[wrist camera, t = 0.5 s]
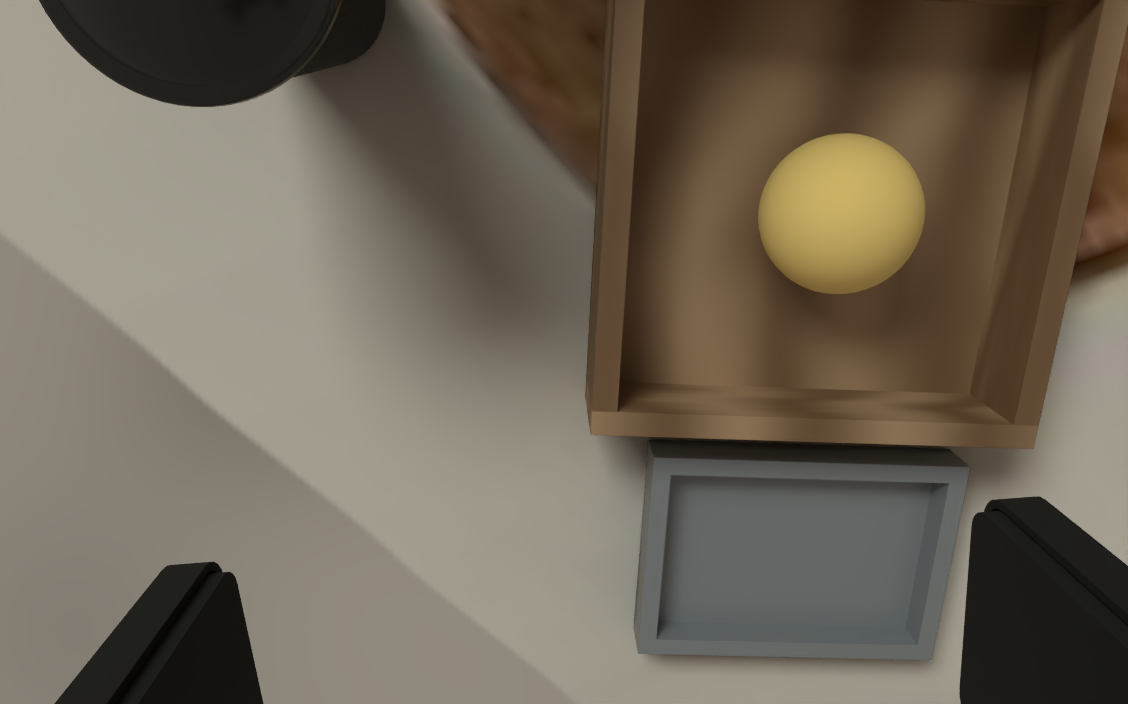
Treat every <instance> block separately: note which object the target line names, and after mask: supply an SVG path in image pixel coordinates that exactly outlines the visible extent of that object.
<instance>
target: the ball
mask: <svg viewBox="0 0 1128 704" xmlns="http://www.w3.org/2000/svg"><path fill="white" fill-rule="evenodd" d="M924 220H925V199H924V193H923V190H922V186H921V183H920V181H919V179H918V177H917V175H916V172H915V171H914V169H913V168H912V166H911V165H910V163H909V162H908V161H907V160H906V159H905V158H904V157H903V156H902V155H901V154H900V153H899V152H897V151H896V150H895V149H894V148H893V147H891V146H889V145H888V144H886V143H884V142H882V141H880V140H878V139H875V138H872V137H869V136H865V135H861V134H852V133H841V134H832V135H826V136H822V137H819V138H816V139H813V140H811V141H809V142H807V143H805V144H803V145H801V146H800V147H798V148H796V149H795V150H793V151H792V152H791V153H790V154H788V155H787V156H786V157H785V158H784V159H783V160H782V161H781V162H780V163H779V164H778V165H777V167H776V168H775V169H774V170H773V172H772V173H771V175H770V177H769V178H768V180H767V182H766V184H765V187H764V189H763V192H762V195H761V198H760V203H759V209H758V225H759V232H760V236H761V240H762V243H763V246H764V248H765V251H766V252H767V254H768V256H769V258H770V259H771V261H772V262H773V263H774V265H775V266H776V267H777V268H778V269H779V270H780V271H781V272H782V273H783V274H784V275H785V276H786V277H788V278H789V279H790V280H791V281H793V282H795V283H797V284H799V285H800V286H802V287H805V288H807V289H810V290H812V291H816V292H821V293H828V294H848V293H855V292H859V291H862V290H866V289H868V288H871V287H873V286H876V285H878V284H880V283H881V282H883V281H885V280H886V279H888V278H889V277H891V276H892V275H893V274H895V273H896V272H897V271H898V270H899V269H900V268H901V267H902V266H903V265H904V263H905V262H906V261H907V260H908V259H909V257H910V256H911V254H912V253H913V251H914V249H915V247H916V246H917V244H918V242H919V239H920V236H921V233H922V230H923V226H924Z"/></svg>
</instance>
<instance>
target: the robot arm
mask: <svg viewBox="0 0 1128 704" xmlns="http://www.w3.org/2000/svg"><path fill="white" fill-rule="evenodd" d="M960 700H961V704H1128V566H1127V565H1126V564H1125V563H1124V562H1122V561H1121V560H1120V559H1119V558H1117V557H1116V556H1115V555H1114V554H1112V553H1111V552H1110V551H1109V550H1107V549H1106V548H1105V547H1104V546H1102V545H1101V544H1100V543H1099V542H1097V541H1096V540H1095V539H1094V538H1092V537H1091V536H1090V535H1089V534H1087V533H1086V532H1085V531H1084V530H1082V529H1081V528H1080V527H1079V526H1077V525H1076V524H1075V523H1074V522H1072V521H1071V520H1070V519H1069V518H1068V517H1066V516H1065V515H1064V514H1063V513H1061V512H1060V511H1059V510H1058V509H1056V508H1055V507H1054V506H1053V505H1051V504H1050V503H1049V502H1048V501H1046V500H1045V499H1043V498H1041V497H1024V498H1011V499H998V500H991V501H990V502H989V503H988V504H987V506H986V508H985V510H984V512H980V513H977V514H976V515H975V516H974V518H973V521H972V528H971V542H970V555H969V569H968V582H967V596H966V609H965V623H964V636H963V650H962V664H961V677H960ZM55 704H263V700H262V695H261V691H260V686H259V682H258V677H257V672H256V668H255V664H254V658H253V654H252V650H251V645H250V640H249V636H248V631H247V626H246V621H245V617H244V612H243V608H242V604H241V598H240V594H239V589H238V584H237V581H236V578H235V576H234V575H233V574H232V573H231V572H222V570H221V568H220V566H219V565H218V564H217V563H215V562H205V563H191V564H179V565H169V566H166V567H165V568H164V569H163V570H162V571H161V572H160V573H159V575H158V576H157V577H156V578H155V580H154V581H153V582H152V583H151V585H150V586H149V587H148V588H147V590H146V591H145V592H144V593H143V594H142V596H141V597H140V598H139V600H138V601H137V602H136V603H135V604H134V606H133V607H132V608H131V609H130V611H129V612H128V613H127V614H126V616H125V617H124V618H123V619H122V621H121V622H120V623H119V624H118V626H117V627H116V628H115V629H114V630H113V632H112V633H111V634H110V636H109V637H108V638H107V639H106V640H105V642H104V643H103V644H102V645H101V647H100V648H99V649H98V651H97V652H96V653H95V654H94V655H93V657H92V658H91V659H90V661H89V662H88V663H87V664H86V665H85V667H84V668H83V669H82V670H81V672H80V673H79V674H78V675H77V676H76V678H75V679H74V680H73V681H72V683H71V684H70V685H69V687H68V688H67V689H66V690H65V691H64V693H63V694H62V695H61V696H60V698H59V699H58V700H57V701H56V703H55Z"/></svg>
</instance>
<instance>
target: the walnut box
mask: <svg viewBox="0 0 1128 704" xmlns="http://www.w3.org/2000/svg"><path fill="white" fill-rule="evenodd" d="M1127 25H1128V0H607V6H606V24H605V42H604V61H603V79H602V98H601V116H600V135H599V153H598V171H597V190H596V208H595V227H594V245H593V264H592V282H591V300H590V319H589V337H588V356H587V374H586V393H585V398H586V405H587V412H588V419H589V426H590V433H591V435H609V436H641V437H673V438H704V439H736V440H768V441H799V442H831V443H863V444H895V445H926V446H958V447H990V448H1021V449H1033V448H1034V444H1035V439H1036V435H1037V430H1038V426H1039V421H1040V417H1041V412H1042V408H1043V403H1044V399H1045V394H1046V390H1047V385H1048V381H1049V376H1050V372H1051V367H1052V363H1053V358H1054V354H1055V349H1056V345H1057V340H1058V336H1059V331H1060V327H1061V322H1062V318H1063V313H1064V309H1065V304H1066V300H1067V295H1068V291H1069V286H1070V282H1071V277H1072V273H1073V268H1074V264H1075V259H1076V255H1077V250H1078V246H1079V241H1080V237H1081V232H1082V228H1083V223H1084V219H1085V214H1086V210H1087V205H1088V201H1089V196H1090V192H1091V187H1092V183H1093V178H1094V174H1095V169H1096V165H1097V160H1098V156H1099V151H1100V147H1101V142H1102V138H1103V133H1104V129H1105V124H1106V120H1107V115H1108V111H1109V106H1110V102H1111V97H1112V93H1113V88H1114V84H1115V79H1116V75H1117V70H1118V66H1119V61H1120V57H1121V52H1122V48H1123V43H1124V39H1125V34H1126V30H1127ZM841 133H852V134H861V135H865V136H869V137H872V138H875V139H878V140H880V141H882V142H884V143H886V144H888V145H889V146H891V147H893V148H894V149H895V150H896V151H897V152H899V153H900V154H901V155H902V156H903V157H904V158H905V159H906V160H907V161H908V162H909V163H910V165H911V166H912V168H913V169H914V171H915V172H916V175H917V177H918V179H919V181H920V183H921V186H922V190H923V193H924V199H925V220H924V226H923V230H922V233H921V236H920V239H919V242H918V244H917V246H916V247H915V249H914V251H913V253H912V254H911V256H910V257H909V259H908V260H907V261H906V262H905V263H904V265H903V266H902V267H901V268H900V269H899V270H898V271H897V272H896V273H895V274H893V275H892V276H891V277H889V278H888V279H886V280H885V281H883V282H881V283H880V284H878V285H876V286H873V287H871V288H868V289H866V290H862V291H859V292H855V293H848V294H828V293H821V292H816V291H812V290H810V289H807V288H805V287H802V286H800V285H799V284H797V283H795V282H793V281H791V280H790V279H789V278H788V277H786V276H785V275H784V274H783V273H782V272H781V271H780V270H779V269H778V268H777V267H776V266H775V265H774V263H773V262H772V261H771V259H770V258H769V256H768V254H767V252H766V251H765V248H764V246H763V243H762V240H761V236H760V232H759V225H758V209H759V203H760V198H761V195H762V192H763V189H764V187H765V184H766V182H767V180H768V178H769V177H770V175H771V173H772V172H773V170H774V169H775V168H776V167H777V165H778V164H779V163H780V162H781V161H782V160H783V159H784V158H785V157H786V156H787V155H788V154H790V153H791V152H792V151H793V150H795V149H796V148H798V147H800V146H801V145H803V144H805V143H807V142H809V141H811V140H813V139H816V138H819V137H822V136H826V135H832V134H841Z"/></svg>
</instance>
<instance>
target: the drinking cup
mask: <svg viewBox="0 0 1128 704" xmlns="http://www.w3.org/2000/svg"><path fill="white" fill-rule="evenodd" d="M39 1H40V3H41V5H42V7H43V8H44V10H45V12H46V13H47V15H48V16H49V18H50V19H51V21H52V22H53V24H54V25H55V27H56V28H57V29H58V31H59V32H60V33H61V34H62V36H63V37H64V38H65V39H66V40H67V42H68V43H69V44H70V45H71V46H72V47H73V48H74V49H75V50H76V51H77V52H78V53H79V54H80V55H81V56H82V57H83V58H84V59H85V60H86V61H88V62H89V63H90V64H91V65H92V66H93V67H95V68H96V69H97V70H99V71H100V72H101V73H103V74H104V75H106V76H107V77H109V78H110V79H112V80H113V81H115V82H117V83H118V84H120V85H122V86H124V87H126V88H128V89H130V90H132V91H134V92H136V93H138V94H141V95H143V96H146V97H149V98H152V99H155V100H158V101H161V102H165V103H171V104H175V105H181V106H191V107H216V106H226V105H232V104H236V103H241V102H245V101H248V100H251V99H254V98H257V97H260V96H262V95H264V94H266V93H269V92H270V91H272V90H274V89H276V88H277V87H279V86H281V85H282V84H284V83H285V82H287V81H288V80H289V79H291V78H293V77H296V76H300V75H304V74H307V73H311V72H315V71H319V70H322V69H326V68H330V67H333V66H337V65H341V64H344V63H347V62H350V61H352V60H354V59H356V58H358V57H359V56H361V55H362V54H363V53H364V52H366V51H367V50H368V49H369V48H370V46H371V45H372V44H373V43H374V41H375V40H376V38H377V36H378V34H379V32H380V30H381V28H382V24H383V21H384V16H385V0H39Z"/></svg>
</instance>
